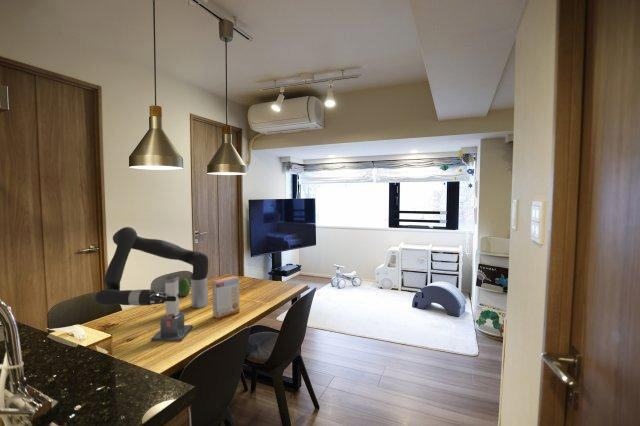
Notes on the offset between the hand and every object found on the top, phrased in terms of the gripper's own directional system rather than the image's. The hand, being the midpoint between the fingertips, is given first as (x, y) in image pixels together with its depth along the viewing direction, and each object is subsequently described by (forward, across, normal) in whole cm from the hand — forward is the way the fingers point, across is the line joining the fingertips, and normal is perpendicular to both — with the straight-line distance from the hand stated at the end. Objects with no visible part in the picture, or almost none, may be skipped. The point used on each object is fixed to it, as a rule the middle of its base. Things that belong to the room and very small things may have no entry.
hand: (177, 297), depth 148 cm
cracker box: (+17, +25, +19) cm, 35 cm away
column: (-3, 0, +14) cm, 15 cm away
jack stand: (-3, 0, +19) cm, 19 cm away
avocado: (-20, +58, +19) cm, 64 cm away
